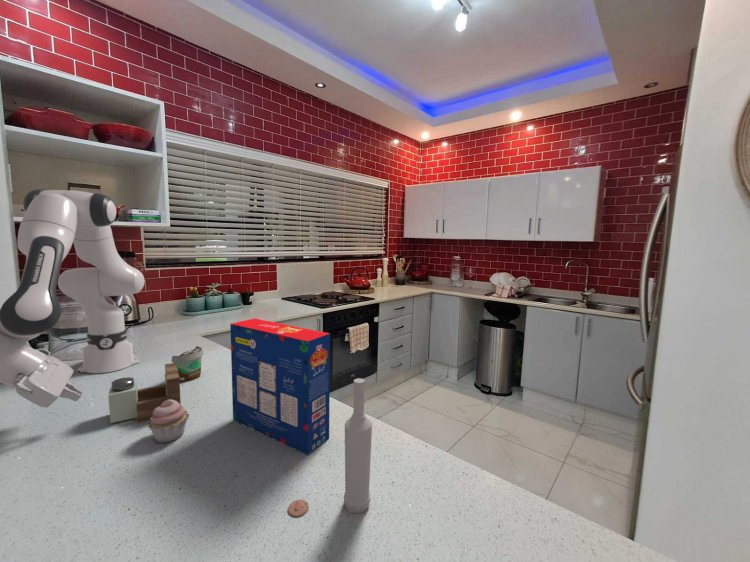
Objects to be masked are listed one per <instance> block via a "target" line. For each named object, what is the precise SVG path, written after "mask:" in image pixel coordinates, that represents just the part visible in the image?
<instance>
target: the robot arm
mask: <svg viewBox="0 0 750 562" xmlns="http://www.w3.org/2000/svg"><path fill="white" fill-rule="evenodd" d="M23 210H24V215H23V217H22V220H21V221H20V224H19V228H18V233H17V249H18V250H19V251H20V252H21V253H22V254H23V255H24V256H25V258H26V259H25V264H24V268H23V271H22V272H23V273H22V275H21V279H20V283H19V286H18V288H17V289H16V291H15V292H14V293H12V294H11V295H10V296H9V297H8V298H7V299H5V301H4V302H3V304H2V305H1V307H0V383H2V384H4V385H6V386H8V387H10V388H12V389H15V392H16V393H17V394H18V395H19V396H20V397H22V398H24V399H25V400H27V401H29V402H31V403H33V404H35V405H36V406H39V407H41V408H49V407H50V406H51V405H53V403H54V402H55V401H57V400H58V399H59V398H63V399H69V400H71V401H73V402H77V401H78V400H79V399H81V397H82V395H83V391H82V390H81V389H78V388H77V387H76V386H75V385H74V384H73V383H71V382H70V381H69V380H70V379H71V377H72V376H73V374H74V372H75V371H74V369H73V368H72V367H71V366H70V365H68V364H67V363H65V362H63V361H62V360H60V359H58V358H57V357H55V356H52V355H51V352H50V351H49V350H47V349H44V348H41V349H36V348H32V347H31V346H29V345H27V344H26V343H27V342H29V341H31V340H32V339H35V338H37V337H39V336H40V335H41V334H43V333H45V332H46V331H48V330H50V329H51V328H53V327H54V326H56V324H57V323H58V322H59V320H60V318H61V314H62V308H61V307H62V306H61V304H60V302H59V298H58V295H57V286H58V288H59V290H60V291H61V292H62V293H63V294H64V295H65V296H67V297H69V298H71V299H72V300H73V301H75V302H76V303H78V305H79V306H80V307H81V309H82V310H83V311H84V314H85V319H86V323H87V331H88V333H87V335H86V343H87V346H85V347H84V348H83V349H82V365H80V367H79V366H78V368H77V372H78V371H80V372H79V373H88V374H105V373H112V372H116V371H120V370H123V369H126V368H128V367H130V366H133V365H136V364H138V363H140V360H139V358H138V357H137V355H136V354H135V353H134V351H133V345H132V343H131V342H130V341H128V332H127V329H126V327H125V312H124V311H123V309H122V307H119V306H117V305H114V304H111V303H109V302H108V301H107V300H106V298H105V297H121V296H122V297H123V296H129V295H135V294H138V293H140V292H141V291H142V290H143V288H144V286H145V282H146V281H145V277H144V274H143V273H142V272H141V271H140V270H139V269H138V268H135V267H133V266H131V265H130V264H128V263H127V262H126V261H125V260H124V259H123V258H122V257H121V255H120V254H119V253H118V250H117V247H116V245H115V240H114V237H113V230H112V228H111V224H113V223H114V222H115V221H116V218H117V208H116V203H115V201H114V200H113V199H112V198H111V197H110V196H108V195H106V194H103V193H98V192H95V193H93V192H87V191H83V190H76V189H75V190H73V189H70V190H68V189H66V190H64V189H46V188H39V189H32V190H30V191H29V192H28V193H27V194H25V195H24V198H23ZM73 245H74V246H73ZM72 246H73V247H74V249H75V253H76V255H77V257H78V258H79V259H80V260H81V261H83V262H85V263H87V264H90V265H92V266H94V267H78V268H72V269H66V270H64V271H63V272H62V273H61V274H60V272H61V271H60V270H61V267H62V263H63V261H64V260H65V258H66V257H67V255H68V254H69V252H70V250H71V249H72Z"/></svg>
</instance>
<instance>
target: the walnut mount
mask: <svg viewBox="0 0 750 562" xmlns="http://www.w3.org/2000/svg"><path fill="white" fill-rule="evenodd" d="M164 370H165V371H164V382H165V384H160V385H154V386H149V387H143V388H139V389H138V388H137V394H138V402H137V417H136V418H133V421H135V420H136V421H137V423H138V422H143V421H147V420H151V419H150V418H151V417H152V416H153V411H154V409H156V408H157V407H159V406H161V404H162V403H163V402H165V401H166V400H168V399H169V400H175V401H177V402H178V403H179V404H181V386H180V384H181V382H180V380H179V374H178V369H177V365H176V363H173V362H171V363H165V364H164ZM181 405H182V404H181Z"/></svg>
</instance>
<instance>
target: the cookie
mask: <svg viewBox="0 0 750 562" xmlns="http://www.w3.org/2000/svg"><path fill="white" fill-rule="evenodd" d="M309 508H310V507H309V503H308V501H307V500H305V499H295V500H292V501H291V503H289V504H288V507H287V512H288V514H289V515H290V516H291V517H292V518H293V517H294V518H295V517H297V518H299V517H302V516H304V515H306V514H307V513H308V511H309Z"/></svg>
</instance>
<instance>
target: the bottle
mask: <svg viewBox="0 0 750 562" xmlns="http://www.w3.org/2000/svg"><path fill="white" fill-rule="evenodd" d="M365 382H366V380H365V379H364V378H361V377H360V378H355V379H353V411H352V412H353V413H351V416H350V417H349V418H348V419H347V420H345V423H344V469H345V470H344V481H345V482H344V484H345V485H344V486H345V487H344V488H345V489H344V490H345V491H344V494H343V502H344V506H345V508H346V510H347V511H348V512H350V513H353V514H361V513H363V512H365V511H367V509H368V508H369V506H370V503H371V492H370V479H371V477H370V476H371V458H372V457H371V455H372V454H371V453H372V433H373V431H372V430H373V422H372V420H371V419H369V418H368V417H367V415H366V413H365V388H366V385H365Z"/></svg>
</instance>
